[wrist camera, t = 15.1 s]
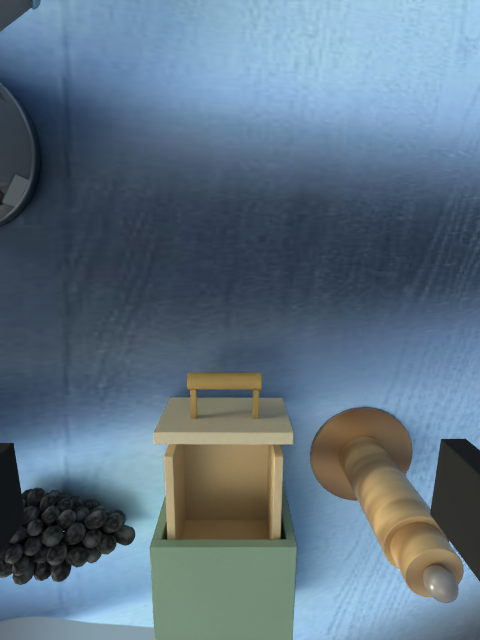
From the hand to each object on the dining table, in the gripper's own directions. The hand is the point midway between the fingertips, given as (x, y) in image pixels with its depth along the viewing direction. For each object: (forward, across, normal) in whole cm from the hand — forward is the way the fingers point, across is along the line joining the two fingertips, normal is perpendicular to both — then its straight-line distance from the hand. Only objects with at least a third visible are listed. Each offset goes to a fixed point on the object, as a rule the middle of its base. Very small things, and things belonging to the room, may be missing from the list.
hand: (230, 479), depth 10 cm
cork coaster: (+26, +15, -17) cm, 34 cm away
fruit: (+26, -19, -25) cm, 41 cm away
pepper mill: (+25, +15, -17) cm, 34 cm away
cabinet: (+26, -1, -29) cm, 39 cm away
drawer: (+25, -1, -15) cm, 29 cm away
